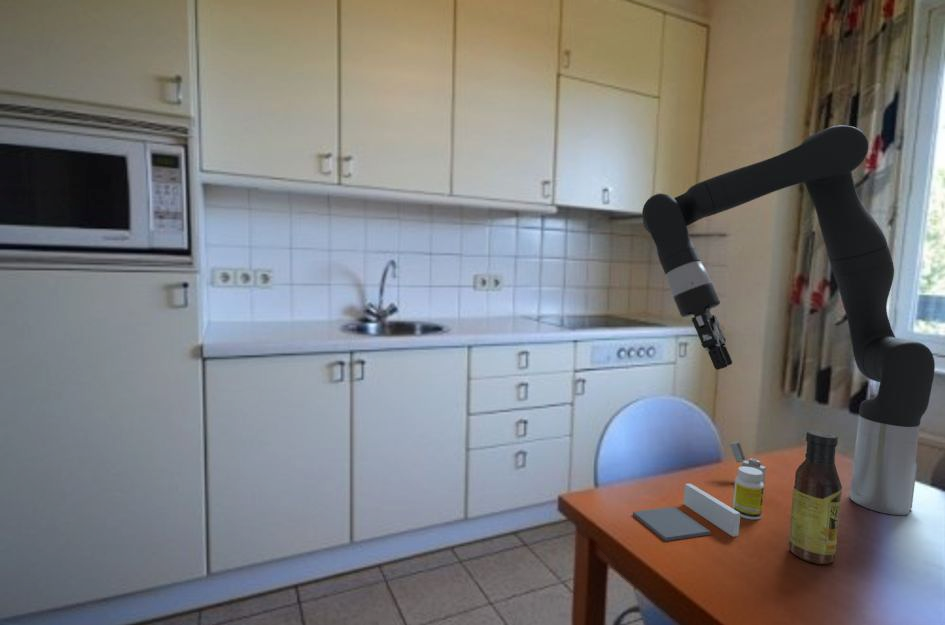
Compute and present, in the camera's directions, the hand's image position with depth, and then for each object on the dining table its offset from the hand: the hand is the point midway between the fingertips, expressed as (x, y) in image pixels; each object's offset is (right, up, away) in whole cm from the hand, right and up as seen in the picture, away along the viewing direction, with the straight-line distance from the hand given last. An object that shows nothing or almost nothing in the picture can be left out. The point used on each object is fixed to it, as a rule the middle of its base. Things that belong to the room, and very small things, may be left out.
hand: (724, 366), depth 96 cm
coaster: (-13, -27, -8) cm, 31 cm away
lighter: (+11, -26, +12) cm, 31 cm away
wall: (-5, -27, -5) cm, 28 cm away
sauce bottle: (+6, -29, -16) cm, 33 cm away
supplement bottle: (+3, -27, -3) cm, 28 cm away
